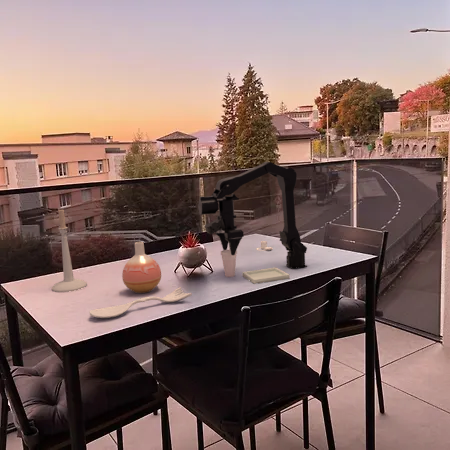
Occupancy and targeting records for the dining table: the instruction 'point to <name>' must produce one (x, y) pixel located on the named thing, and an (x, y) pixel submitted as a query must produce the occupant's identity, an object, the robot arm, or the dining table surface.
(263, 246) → the teacup and saucer
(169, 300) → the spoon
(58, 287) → the candlestick
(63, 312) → the dining table surface
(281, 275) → the tray
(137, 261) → the vase
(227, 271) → the smoothie
